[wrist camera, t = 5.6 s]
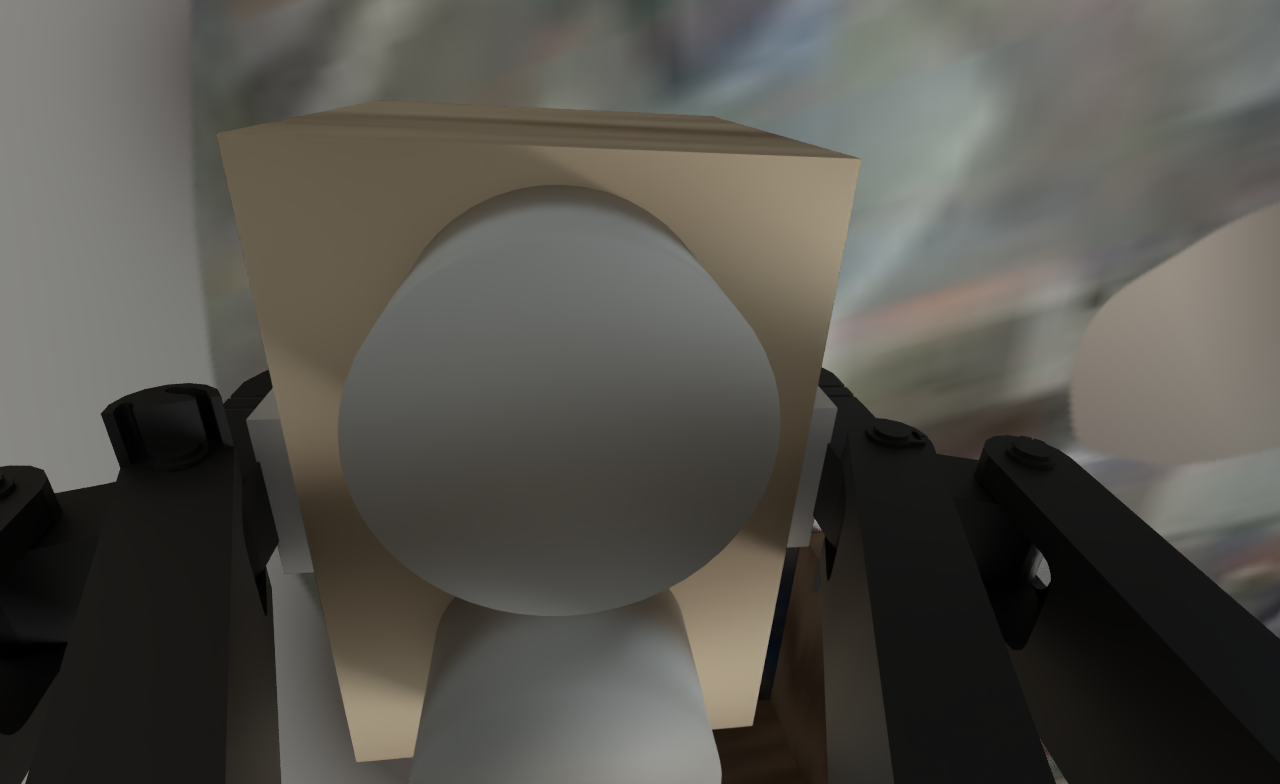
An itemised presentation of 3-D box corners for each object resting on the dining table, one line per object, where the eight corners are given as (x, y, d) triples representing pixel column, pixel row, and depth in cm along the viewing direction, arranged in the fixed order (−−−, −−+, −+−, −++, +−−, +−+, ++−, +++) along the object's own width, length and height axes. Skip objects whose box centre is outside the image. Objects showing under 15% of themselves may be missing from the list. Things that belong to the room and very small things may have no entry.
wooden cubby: (495, 553, 31) (476, 883, 18) (824, 531, 34) (1005, 805, 21) (507, 745, 37) (498, 1095, 25) (785, 713, 40) (908, 1013, 27)
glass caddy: (379, 100, 13) (50, 166, 4) (712, 116, 14) (993, 196, 5) (426, 500, 18) (310, 936, 9) (677, 491, 19) (799, 874, 10)
